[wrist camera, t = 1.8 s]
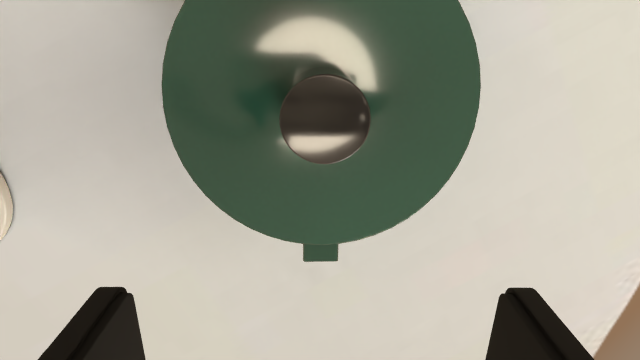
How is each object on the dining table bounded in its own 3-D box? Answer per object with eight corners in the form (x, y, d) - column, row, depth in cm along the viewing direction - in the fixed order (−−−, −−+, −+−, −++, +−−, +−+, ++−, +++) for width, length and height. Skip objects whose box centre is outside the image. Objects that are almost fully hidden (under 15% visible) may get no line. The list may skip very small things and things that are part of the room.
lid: (187, 236, 26) (162, 280, 22) (146, -75, 20) (99, -105, 15) (452, 235, 27) (480, 276, 22) (496, -70, 20) (548, -97, 16)
